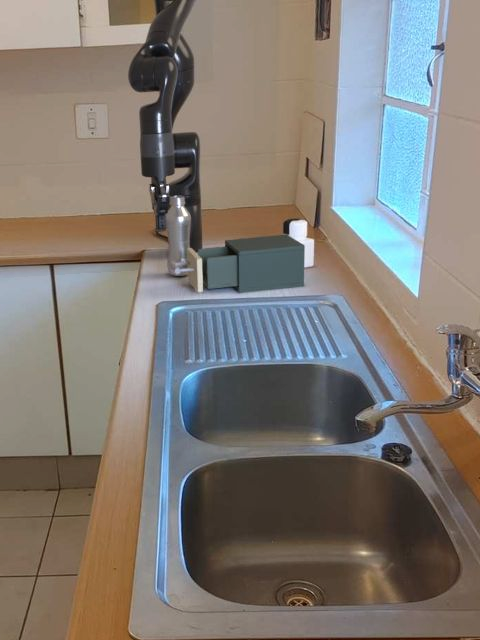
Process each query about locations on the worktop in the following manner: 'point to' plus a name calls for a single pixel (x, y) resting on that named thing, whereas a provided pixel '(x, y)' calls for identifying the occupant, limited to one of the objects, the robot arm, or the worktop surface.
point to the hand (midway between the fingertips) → (161, 230)
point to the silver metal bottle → (178, 233)
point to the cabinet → (268, 262)
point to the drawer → (210, 267)
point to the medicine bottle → (300, 238)
